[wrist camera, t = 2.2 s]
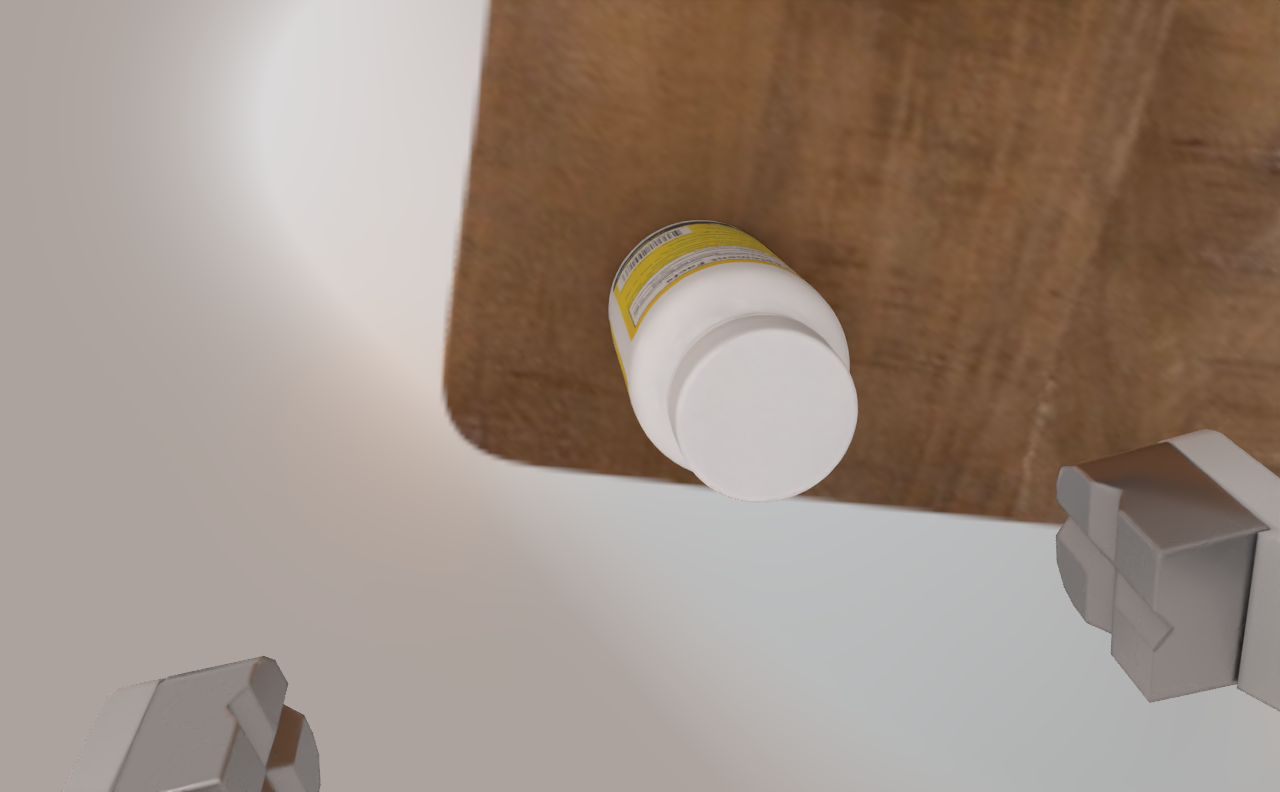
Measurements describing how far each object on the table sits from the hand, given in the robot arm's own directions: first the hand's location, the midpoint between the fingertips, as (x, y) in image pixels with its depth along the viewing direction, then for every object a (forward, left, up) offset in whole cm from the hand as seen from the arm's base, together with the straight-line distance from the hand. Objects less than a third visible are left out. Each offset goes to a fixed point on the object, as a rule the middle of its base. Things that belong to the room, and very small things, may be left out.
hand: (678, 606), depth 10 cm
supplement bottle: (+2, +4, -21) cm, 21 cm away
